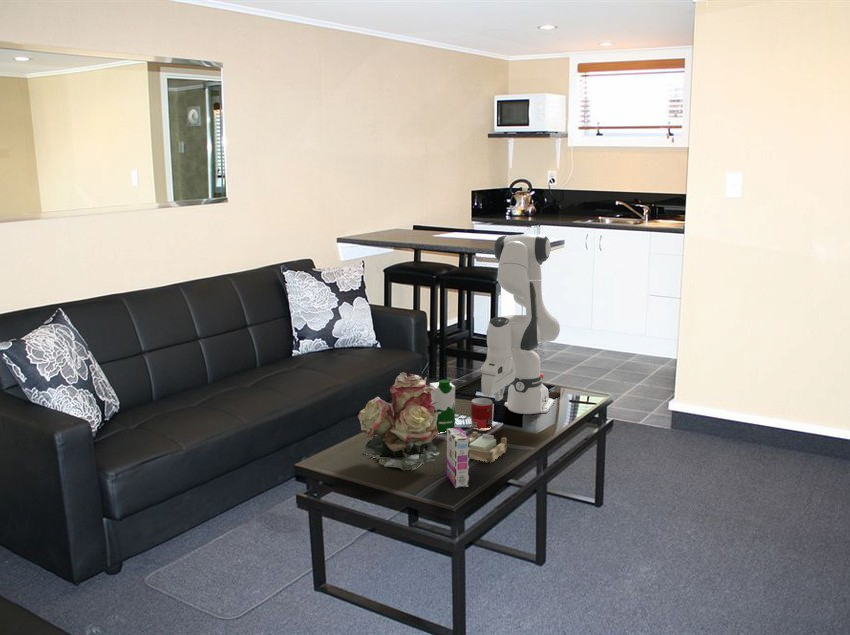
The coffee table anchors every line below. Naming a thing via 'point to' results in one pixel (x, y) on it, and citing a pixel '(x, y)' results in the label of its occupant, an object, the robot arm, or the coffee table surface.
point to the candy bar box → (458, 457)
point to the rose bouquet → (402, 423)
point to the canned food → (481, 413)
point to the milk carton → (444, 404)
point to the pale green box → (484, 442)
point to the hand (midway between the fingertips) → (498, 399)
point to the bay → (487, 455)
